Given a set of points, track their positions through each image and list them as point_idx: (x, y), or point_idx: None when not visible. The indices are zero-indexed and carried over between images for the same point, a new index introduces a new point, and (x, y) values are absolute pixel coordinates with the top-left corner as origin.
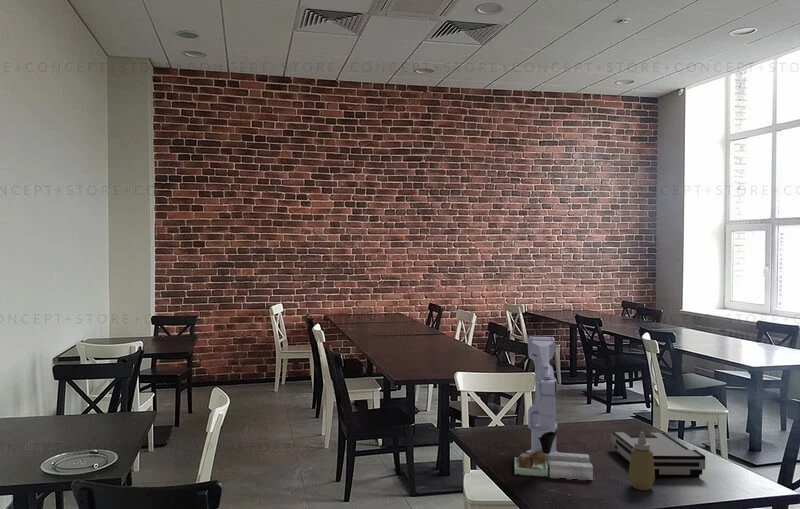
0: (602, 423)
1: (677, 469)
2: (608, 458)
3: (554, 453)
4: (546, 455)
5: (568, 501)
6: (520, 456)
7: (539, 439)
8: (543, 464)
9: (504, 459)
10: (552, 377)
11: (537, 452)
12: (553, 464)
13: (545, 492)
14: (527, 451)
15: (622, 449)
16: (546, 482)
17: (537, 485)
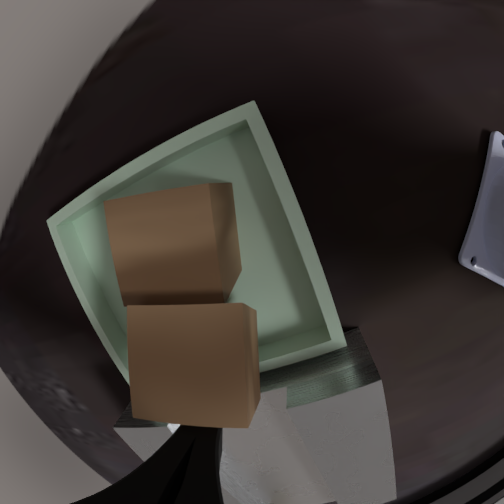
0: None
1: None
2: (487, 445)
3: (353, 424)
4: (484, 274)
5: (46, 423)
6: (107, 213)
7: (93, 495)
8: (311, 321)
9: (285, 32)
10: None
11: (133, 387)
12: (128, 441)
13: (34, 374)
14: (497, 138)
15: (484, 488)
16: (91, 375)
17: (48, 347)
